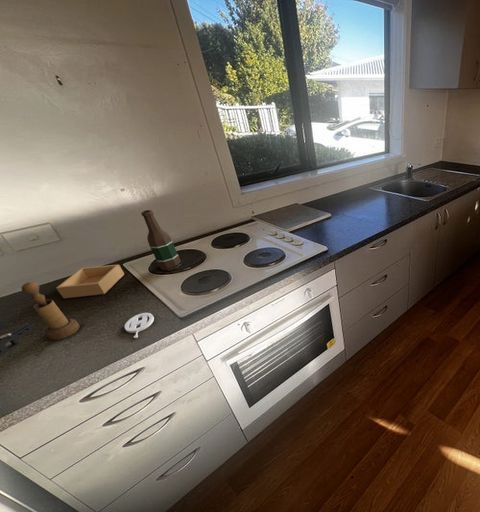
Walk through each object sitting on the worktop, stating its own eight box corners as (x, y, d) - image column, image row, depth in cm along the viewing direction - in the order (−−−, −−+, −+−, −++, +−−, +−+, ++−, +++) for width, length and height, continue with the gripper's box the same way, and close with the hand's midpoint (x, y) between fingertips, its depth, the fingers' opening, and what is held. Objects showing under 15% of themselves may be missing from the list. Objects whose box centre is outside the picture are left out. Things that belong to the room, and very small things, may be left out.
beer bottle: (184, 259, 123) (161, 206, 110) (179, 269, 116) (155, 213, 104) (163, 262, 120) (138, 208, 108) (157, 272, 114) (129, 216, 102)
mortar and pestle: (71, 337, 85) (33, 288, 76) (44, 342, 84) (1, 293, 74) (84, 322, 91) (50, 275, 81) (59, 326, 89) (21, 279, 80)
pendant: (155, 311, 94) (154, 309, 94) (151, 333, 86) (150, 331, 86) (128, 319, 91) (127, 317, 91) (121, 342, 83) (120, 340, 83)
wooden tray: (63, 298, 101) (55, 287, 98) (87, 277, 111) (81, 268, 109) (104, 293, 103) (98, 283, 100) (124, 274, 113) (119, 264, 111)
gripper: (-61, 369, 60) (30, 315, 73) (-117, 362, 61) (-17, 311, 75) (-34, 391, 64) (48, 336, 77) (-87, 384, 65) (2, 331, 79)
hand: (16, 323), depth 76 cm, fingers open, 8 cm apart
